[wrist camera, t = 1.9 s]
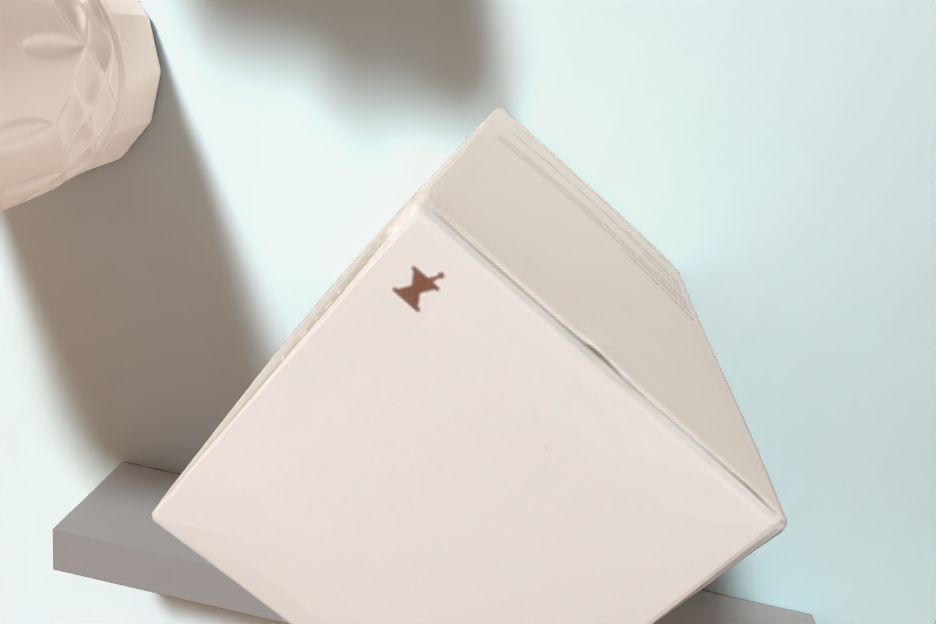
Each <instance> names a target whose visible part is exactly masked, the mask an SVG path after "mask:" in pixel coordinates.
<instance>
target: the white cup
mask: <svg viewBox="0 0 936 624" xmlns="http://www.w3.org/2000/svg"><path fill="white" fill-rule="evenodd" d="M160 75H161V69H160V64H159V60H158V55H157V51H156V46H155V42H154V37H153V33H152V28H151V24H150V19H149V16H148V15H147V13H146V12H145V10H144V9H143V7H142V6H141V4H140V3H139V1H138V0H0V212H2V211H4V210H6V209H8V208H11V207H14V206H17V205H20V204H22V203H24V202H27V201H29V200H31V199H33V198H35V197H38V196H40V195H42V194H44V193H47V192H49V191H52V190H54V189H56V188H57V187H59V186H60V185H61V184H62V183H64V182H65V181H67V180H68V179H71V178H73V177H75V176H77V175H79V174H81V173H83V172H86V171H88V170H91V169H94V168H97V167H99V166H102V165H105V164H107V163H110V162H113V161H116V160H118V159H120V158H122V157H123V156H124V154H125V153H126V152H127V151H128V150H129V148H130V147H131V146H132V145H133V143H134V142H135V141H136V140H137V138H138V137H139V136H140V135H141V134H142V132H143V131H144V130H145V129H146V127H147V126H148V125H149V124H150V122H151V120H152V115H153V110H154V105H155V100H156V95H157V90H158V85H159V80H160Z"/></svg>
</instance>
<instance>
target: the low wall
mask: <svg viewBox="0 0 936 624" xmlns="http://www.w3.org/2000/svg"><path fill="white" fill-rule="evenodd" d="M179 476H180V475H179V474H175V473H170V472H166V471H161V470H157V469H152V468H148V467H143V466H139V465H134V464H130V463H125V462H122V463H121V464H120V465H119V466H118V467H117V468H116V469H115V470H114V471H113V472H112V473H111V474H110V475H109V476H108V477H107V478H106V479H105V480H104V481H103V482H102V483H100V484H99V485H98V486H97V487H96V488H95V489H94V490H93V491H92V492H91V493H90V494H89V495H88V496H87V497H86V498H85V499H84V500H83V501H82V502H81V503H80V504H79V505H78V506H76V507H75V508H74V509H73V510H72V511H71V512H70V513H69V514H68V515H67V516H66V517H65V518H64V519H63V520H62V521H61V522H60V523H59V524H58V525H57V526H56V527H55V528H54V529H53V569H54V570H59V571H63V572H67V573H72V574H76V575H80V576H84V577H89V578H93V579H97V580H102V581H106V582H110V583H115V584H119V585H123V586H128V587H132V588H136V589H141V590H145V591H149V592H154V593H158V594H162V595H167V596H171V597H175V598H180V599H184V600H188V601H193V602H197V603H201V604H206V605H210V606H214V607H219V608H223V609H227V610H232V611H236V612H240V613H245V614H249V615H253V616H257V617H262V618H266V619H270V620H275V621H279V622H283V623H288V622H287V621H286V620H284V619H283V618H282V617H280V616H279V615H278V614H276V613H275V612H274V611H272V610H271V609H270V608H269V607H267V606H266V605H265V604H263V603H262V602H261V601H259V600H258V599H257V598H256V597H254V596H253V595H252V594H250V593H249V592H248V591H246V590H245V589H244V588H243V587H241V586H240V585H239V584H237V583H236V582H235V581H233V580H232V579H231V578H229V577H228V576H226V575H225V574H224V573H222V572H221V571H220V570H218V569H217V568H216V567H214V566H213V565H212V564H211V563H209V562H208V561H207V560H205V559H204V558H203V557H201V556H200V555H199V554H197V553H196V552H194V551H193V550H192V549H190V548H189V547H187V546H186V545H185V544H183V543H182V542H181V541H180V540H178V539H177V538H176V537H174V536H173V535H172V534H170V533H169V532H168V531H166V530H165V529H163V528H162V527H161V526H160V525H158V524H157V523H156V522H155V521H154V520H153V518H152V513H153V511H154V510H155V508H156V507H157V505H158V504H159V503H160V501H161V500H162V498H163V497H164V496H165V494H166V493H167V492H168V490H169V489H170V488H171V486H172V485H173V484H174V482H175V481H176V480H177V479H178V477H179ZM288 624H289V623H288ZM654 624H815V621H814V619H813V617H812V615H810V614H805V613H801V612H796V611H792V610H787V609H783V608H778V607H774V606H769V605H765V604H760V603H756V602H751V601H747V600H742V599H738V598H733V597H729V596H724V595H720V594H715V593H711V592H706V591H702V590H700V591H699V592H697V593H696V594H694V595H693V596H692V597H690V598H689V599H687V600H686V601H685V602H683V603H682V604H680V605H679V606H678V607H676V608H675V609H673V610H672V611H671V612H669V613H668V614H666V615H665V616H664V617H662V618H661V619H659V620H658V621H657V622H655V623H654Z"/></svg>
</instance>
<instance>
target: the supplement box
mask: <svg viewBox="0 0 936 624" xmlns="http://www.w3.org/2000/svg"><path fill="white" fill-rule="evenodd" d="M152 518H153V520H154V521H155V522H156V523H157V524H158V525H160V526H161V527H162V528H163V529H165V530H166V531H168V532H169V533H170V534H172V535H173V536H174V537H176V538H177V539H178V540H180V541H181V542H182V543H183V544H185V545H186V546H187V547H189V548H190V549H192V550H193V551H194V552H196V553H197V554H199V555H200V556H201V557H203V558H204V559H205V560H207V561H208V562H209V563H211V564H212V565H213V566H214V567H216V568H217V569H218V570H220V571H221V572H222V573H224V574H225V575H226V576H228V577H229V578H231V579H232V580H233V581H235V582H236V583H237V584H239V585H240V586H241V587H243V588H244V589H245V590H246V591H248V592H249V593H250V594H252V595H253V596H254V597H256V598H257V599H258V600H259V601H261V602H262V603H263V604H265V605H266V606H267V607H269V608H270V609H271V610H272V611H274V612H275V613H276V614H278V615H279V616H280V617H282V618H283V619H284V620H286V621H287V622H288V623H289V624H654V623H655V622H657V621H658V620H659V619H661V618H662V617H664V616H665V615H666V614H668V613H669V612H671V611H672V610H673V609H675V608H676V607H678V606H679V605H680V604H682V603H683V602H685V601H686V600H687V599H689V598H690V597H692V596H693V595H694V594H696V593H697V592H699V591H700V590H701V589H703V588H704V587H706V586H707V585H708V584H710V583H711V582H713V581H714V580H715V579H717V578H718V577H719V576H721V575H722V574H723V573H725V572H726V571H728V570H729V569H730V568H732V567H733V566H734V565H736V564H737V563H738V562H740V561H741V560H743V559H744V558H745V557H747V556H748V555H749V554H751V553H752V552H753V551H755V550H756V549H758V548H759V547H760V546H762V545H763V544H765V543H766V542H768V541H769V540H771V539H772V538H774V537H775V536H776V535H778V534H779V533H781V532H782V530H783V529H784V528H785V527H786V524H787V520H786V517H785V515H784V512H783V510H782V507H781V505H780V502H779V500H778V498H777V495H776V493H775V490H774V488H773V485H772V483H771V480H770V478H769V476H768V473H767V471H766V468H765V466H764V464H763V461H762V459H761V457H760V454H759V452H758V450H757V447H756V445H755V443H754V441H753V438H752V436H751V434H750V431H749V429H748V427H747V425H746V423H745V420H744V418H743V416H742V414H741V412H740V410H739V407H738V405H737V403H736V401H735V398H734V396H733V394H732V392H731V390H730V387H729V385H728V383H727V381H726V379H725V377H724V374H723V372H722V370H721V368H720V366H719V363H718V361H717V359H716V357H715V355H714V353H713V350H712V348H711V346H710V344H709V341H708V339H707V337H706V335H705V332H704V330H703V328H702V326H701V323H700V321H699V319H698V317H697V314H696V312H695V310H694V308H693V306H692V304H691V301H690V298H689V296H688V293H687V291H686V289H685V287H684V284H683V282H682V280H681V277H680V275H679V272H678V270H677V269H676V268H675V267H674V266H673V265H672V264H671V263H670V262H669V261H668V260H667V259H666V258H665V257H664V256H663V255H662V254H661V253H660V252H659V251H658V250H657V249H656V248H655V247H654V246H653V245H652V244H651V243H650V242H649V241H648V240H647V239H646V238H645V237H644V236H643V235H641V234H640V233H639V232H638V231H637V230H636V229H635V228H634V227H633V226H632V225H631V224H630V223H629V222H628V221H626V220H625V219H624V218H623V217H622V216H621V215H620V214H619V213H618V212H617V211H616V210H615V209H614V208H612V207H611V206H610V205H609V204H608V203H607V202H606V201H605V200H604V199H603V198H601V197H600V196H599V195H598V194H597V193H596V192H595V191H594V190H593V189H592V188H590V187H589V186H588V185H587V184H586V183H585V182H584V181H583V180H582V179H581V178H580V177H578V176H577V175H576V174H575V173H574V172H573V171H572V170H571V169H570V168H569V167H567V166H566V165H565V164H564V163H563V162H562V161H561V160H560V159H559V158H558V157H556V156H555V155H554V154H553V153H552V152H551V151H550V150H549V149H548V148H547V147H545V146H544V145H543V144H542V143H541V142H540V141H539V140H538V139H537V138H536V137H535V136H533V135H532V134H531V133H530V132H529V131H528V130H527V129H526V128H525V127H523V126H522V125H521V124H520V123H519V122H518V121H517V120H516V119H514V118H513V117H512V116H511V115H510V114H509V113H508V112H507V111H506V110H505V109H504V108H502V107H497V108H496V109H495V110H494V111H493V112H492V113H491V114H490V115H489V116H488V117H487V118H486V119H485V120H484V121H483V122H482V123H481V124H480V125H479V126H478V127H477V128H476V129H475V130H474V131H473V133H472V134H471V135H470V136H469V137H468V138H467V139H466V140H465V141H464V142H463V143H462V144H461V145H460V147H459V148H458V149H457V150H456V151H455V152H454V153H453V154H452V155H451V156H450V157H449V159H448V160H447V161H446V162H445V163H444V164H443V165H442V166H441V167H440V168H439V169H438V170H437V171H436V172H435V174H434V175H433V176H432V177H431V178H430V179H429V180H428V181H427V182H426V183H425V184H424V185H423V186H422V187H421V188H420V189H419V190H418V191H417V192H416V193H415V195H414V196H413V197H412V198H411V199H410V200H409V201H408V202H407V203H406V204H405V205H404V206H403V207H402V208H401V209H400V210H399V211H398V213H397V214H396V215H395V216H394V217H393V218H392V219H391V220H390V221H389V222H388V224H387V225H386V226H385V227H384V228H383V229H382V230H381V231H380V232H379V233H378V235H377V236H376V237H375V238H374V239H373V240H372V241H371V242H370V243H369V245H368V246H367V247H366V248H365V249H364V250H363V251H362V252H361V254H360V255H359V256H358V257H357V258H356V259H355V260H354V261H353V262H352V264H351V265H350V266H349V267H348V268H347V269H346V270H345V271H344V273H343V274H342V275H341V276H340V277H339V278H338V279H337V281H336V282H335V283H334V284H333V285H332V287H331V288H330V289H329V290H328V291H327V292H326V294H325V295H324V296H323V297H322V298H321V299H320V301H319V302H318V303H317V304H316V305H315V306H314V308H313V309H312V310H311V311H310V312H309V314H308V315H307V316H306V317H305V318H304V320H303V321H302V322H301V323H300V324H299V326H298V327H297V328H296V329H295V331H294V332H293V333H292V334H291V335H290V337H289V338H288V339H287V340H286V341H285V343H284V344H283V345H282V346H281V347H280V349H279V350H278V351H277V352H276V353H275V355H274V356H273V357H272V358H271V360H270V361H269V362H268V363H267V365H266V366H265V367H264V368H263V370H262V371H261V372H260V374H259V375H258V376H257V377H256V379H255V380H254V381H253V382H252V384H251V385H250V386H249V387H248V389H247V390H246V391H245V393H244V394H243V395H242V396H241V398H240V399H239V400H238V402H237V403H236V404H235V405H234V407H233V408H232V409H231V411H230V412H229V413H228V414H227V416H226V417H225V418H224V420H223V421H222V422H221V423H220V425H219V426H218V427H217V429H216V430H215V431H214V432H213V434H212V435H211V436H210V438H209V439H208V440H207V441H206V443H205V444H204V445H203V446H202V448H201V449H200V450H199V452H198V453H197V454H196V455H195V457H194V458H193V459H192V461H191V462H190V463H189V464H188V466H187V467H186V468H185V470H184V471H183V472H182V473H181V475H180V476H179V477H178V479H177V480H176V481H175V482H174V484H173V485H172V486H171V488H170V489H169V490H168V492H167V493H166V494H165V496H164V497H163V498H162V500H161V501H160V503H159V504H158V505H157V507H156V508H155V510H154V511H153V513H152Z"/></svg>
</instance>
